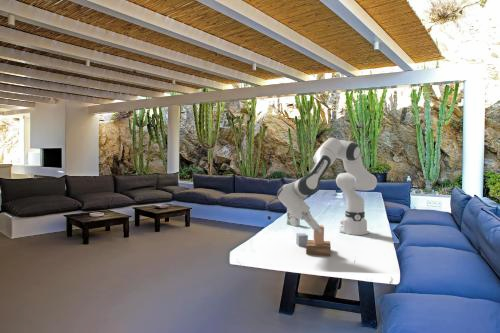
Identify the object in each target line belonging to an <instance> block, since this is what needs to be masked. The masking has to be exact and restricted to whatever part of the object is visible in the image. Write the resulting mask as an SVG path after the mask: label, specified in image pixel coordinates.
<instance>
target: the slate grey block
mask: <svg viewBox="0 0 500 333" xmlns="http://www.w3.org/2000/svg"><path fill="white" fill-rule="evenodd" d="M307 240H309V235H308V234H307V233H303V232H302V233H301V232H300V233H298V232H297V233H296V242H295V244H296V245H297V246H298V247H306V244H307Z"/></svg>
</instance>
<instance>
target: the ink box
mask: <svg viewBox="0 0 500 333" xmlns="http://www.w3.org/2000/svg"><path fill="white" fill-rule="evenodd" d="M286 225H289V226H293V227H298V226H301V219H297V218H296V217H295V216H294V215H293V214H292V213H291V211H290V210H289V209H288V208H287V207H286Z"/></svg>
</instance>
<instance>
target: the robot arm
mask: <svg viewBox="0 0 500 333" xmlns="http://www.w3.org/2000/svg"><path fill="white" fill-rule="evenodd" d="M312 158H313V159H312V161H313V162H314V164H315V165H314V167H313V168H312V169H311V170H310V172H309V173H308V174H306V175H304V176H303V177H300V178H299V179H297V180H295V181H293V182H290V183H286V184H285V183H284V184H283V185H281V186H280V188H279V189H278V190H277V192H276V197H277V198H278V200H279V202H281V203H282V205H283V206H284V207H285V208H286V209H287V208H288V209H289V210H290V211H291V213H292V214H293V215H294V216H295V217H296V218H297V219H300V221H301V220H302V221H305V223H306V224H308V226H310V228H311V229H312V230H313V231H314V230H315V229H316V230H317V231H318V232H319V233H321V232H322V230H321V229H320V227H319V225H320V224H319V223H318V222H317V221H316V219H315V218H314V217H313V215H312V214H311V211H310V210H311V207H310V206H309V205H308V204H307V203H306V201H305V200H303V199H304V198H306V197H308V196H313V195H315V194H316V193H317V192H318V191H319V189H320V188H319V187H320V183H321V180H322V179H323V178H324V175H325V173H326V172H327V170H328V169H329V168H330V167H331V166H332V165H333V163H334V162H335V160H336V159H339V160H340V159H341V160H342V163H343V168H344V170H345V171H346V172H339V173H338V174H337V176H336V178H335V184H336V186H337V187H338V188H339V189H340V190H341V191H342V192H343V194H344V196H345V201H346V203H345V204H346V207H345V208H346V210H345V213H344V215H345V216H344V218H343V220H340V225H341V226H339V227H338V229H339V233H341V234H347V235H353V236H363V235H367V234H370V231H369V230H368V221H367V219H366V213H365V199H364V198H363V196H361V195H359V194H358V193H357V191H365V192H366V191H373V190H375V188H376V187H377V186H378V179H377V177H376V176H375V175H374V174H372V173H371V172H370V171H368V170H367V169H366V168H365V166H364V163H363V160H362V154H361V147H360V145H359V144H358V143H356V142H355V141H351V140H350V141H348V140H345V139H338V138H337V137H329V138H327V139H326V140H325V141H324V142H323V143H322V144H321V145H320V146H319V147H318V148H317V150H316V152H315V153H314V155H313V157H312Z"/></svg>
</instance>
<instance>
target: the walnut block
mask: <svg viewBox="0 0 500 333" xmlns="http://www.w3.org/2000/svg"><path fill="white" fill-rule="evenodd" d="M305 248H306V249H305V255H306V254H308V255H309V256H321V257H322V256H323V257H331V252H332V251H331V250H332V249H331V241H329V240H326V241H325V240H324V245H322V244H314V239H308V240H307V244H306V246H305Z"/></svg>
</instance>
